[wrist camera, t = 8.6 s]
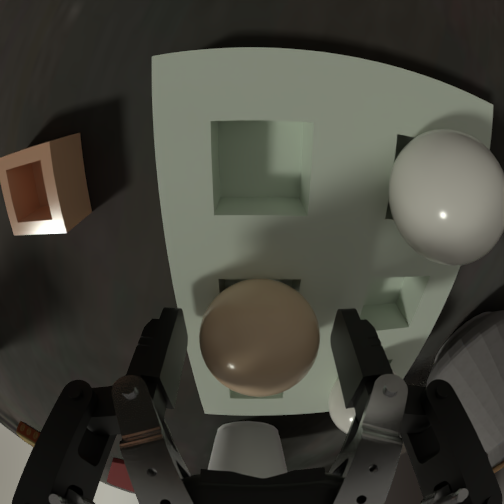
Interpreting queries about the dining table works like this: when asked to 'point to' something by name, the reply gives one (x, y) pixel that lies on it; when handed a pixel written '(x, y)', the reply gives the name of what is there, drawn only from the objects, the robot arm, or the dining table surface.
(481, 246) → the white egg
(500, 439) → the coffee pot
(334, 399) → the white egg
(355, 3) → the dining table surface
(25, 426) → the carton
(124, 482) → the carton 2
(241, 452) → the foam cup
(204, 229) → the egg tray
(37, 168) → the egg cup
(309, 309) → the brown egg
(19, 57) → the dining table surface
